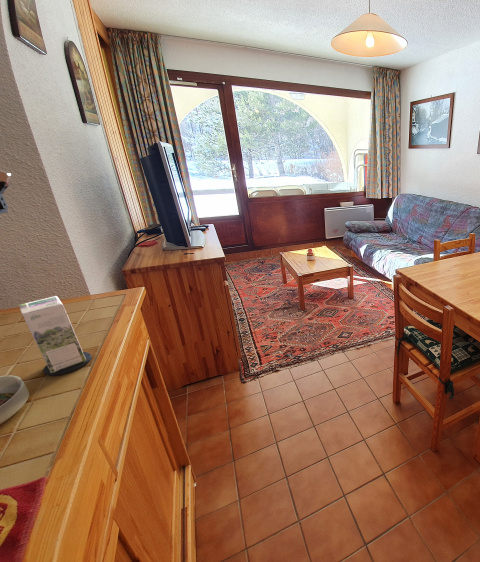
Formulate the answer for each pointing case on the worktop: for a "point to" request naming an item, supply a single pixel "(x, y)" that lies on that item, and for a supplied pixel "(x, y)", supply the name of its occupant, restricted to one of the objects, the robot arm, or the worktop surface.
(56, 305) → the syrup box
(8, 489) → the worktop surface
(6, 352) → the worktop surface
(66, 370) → the coaster
